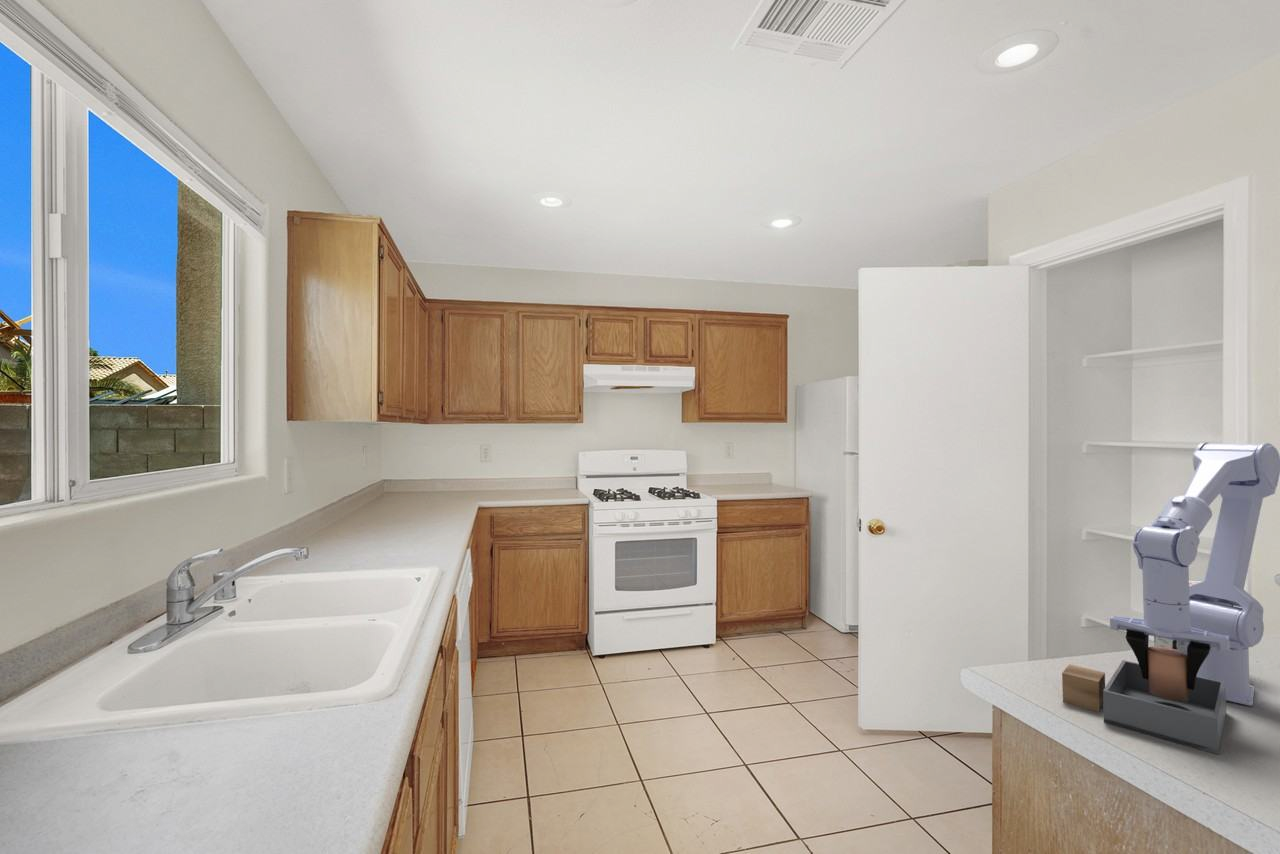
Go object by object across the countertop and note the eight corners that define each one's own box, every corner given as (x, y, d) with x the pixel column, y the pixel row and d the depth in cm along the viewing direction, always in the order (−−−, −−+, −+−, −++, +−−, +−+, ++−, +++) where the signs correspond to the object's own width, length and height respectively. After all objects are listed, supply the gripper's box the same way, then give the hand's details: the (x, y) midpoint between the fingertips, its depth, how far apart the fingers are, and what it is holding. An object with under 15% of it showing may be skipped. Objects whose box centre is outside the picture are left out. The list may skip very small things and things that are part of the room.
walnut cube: (1070, 692, 103) (1069, 664, 103) (1105, 701, 100) (1104, 672, 100) (1062, 701, 100) (1062, 672, 100) (1099, 711, 96) (1098, 681, 96)
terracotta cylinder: (1140, 689, 98) (1139, 647, 98) (1165, 686, 99) (1164, 645, 99) (1171, 703, 93) (1170, 659, 93) (1197, 699, 94) (1196, 656, 94)
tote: (1123, 687, 104) (1122, 660, 104) (1226, 713, 95) (1225, 682, 95) (1103, 722, 93) (1103, 690, 93) (1218, 754, 83) (1217, 719, 83)
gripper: (1105, 596, 99) (1107, 676, 99) (1226, 615, 88) (1228, 705, 88) (1113, 587, 104) (1115, 664, 104) (1229, 604, 93) (1231, 690, 93)
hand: (1168, 682), depth 96 cm, fingers closed on terracotta cylinder, 5 cm apart
